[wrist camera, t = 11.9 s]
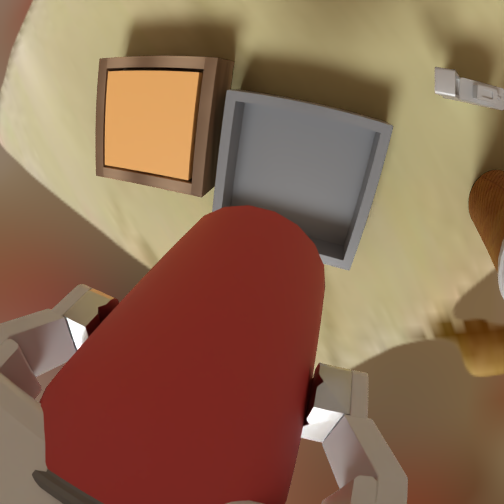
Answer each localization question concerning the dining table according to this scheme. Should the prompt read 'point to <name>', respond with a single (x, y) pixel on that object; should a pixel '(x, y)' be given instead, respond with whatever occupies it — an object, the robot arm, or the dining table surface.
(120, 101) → the orange square panel
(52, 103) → the dining table surface
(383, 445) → the robot arm
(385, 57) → the dining table surface
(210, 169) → the checker stand
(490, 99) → the lighter
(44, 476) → the beer can
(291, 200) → the tray
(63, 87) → the dining table surface
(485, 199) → the disposable coffee cup
